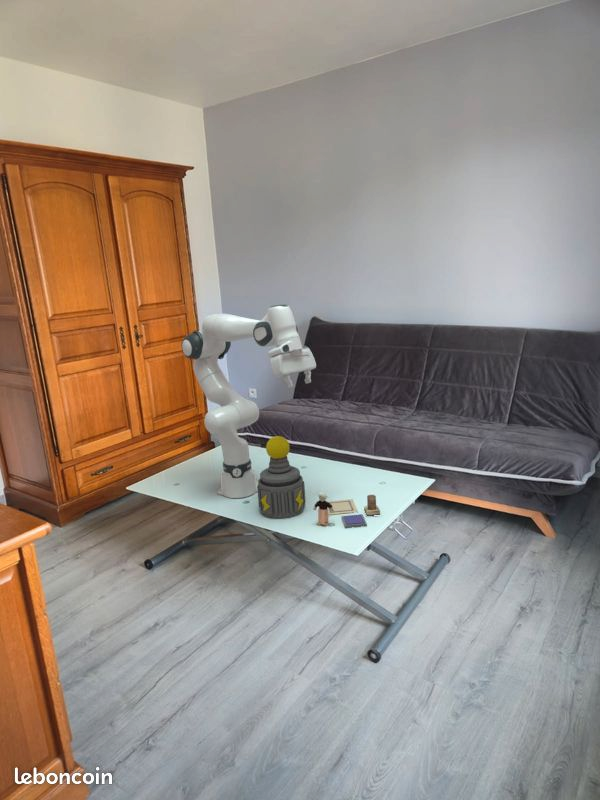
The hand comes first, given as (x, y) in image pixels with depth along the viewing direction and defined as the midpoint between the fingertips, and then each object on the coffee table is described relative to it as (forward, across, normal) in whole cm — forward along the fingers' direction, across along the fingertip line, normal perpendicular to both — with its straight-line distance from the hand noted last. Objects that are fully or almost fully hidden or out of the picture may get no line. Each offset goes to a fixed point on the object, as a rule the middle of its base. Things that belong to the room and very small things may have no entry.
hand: (300, 385), depth 193 cm
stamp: (+54, -17, +3) cm, 56 cm away
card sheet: (+50, -15, -10) cm, 53 cm away
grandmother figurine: (+52, 0, -7) cm, 52 cm away
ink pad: (+54, -7, +1) cm, 54 cm away
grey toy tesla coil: (+45, -2, -28) cm, 53 cm away
